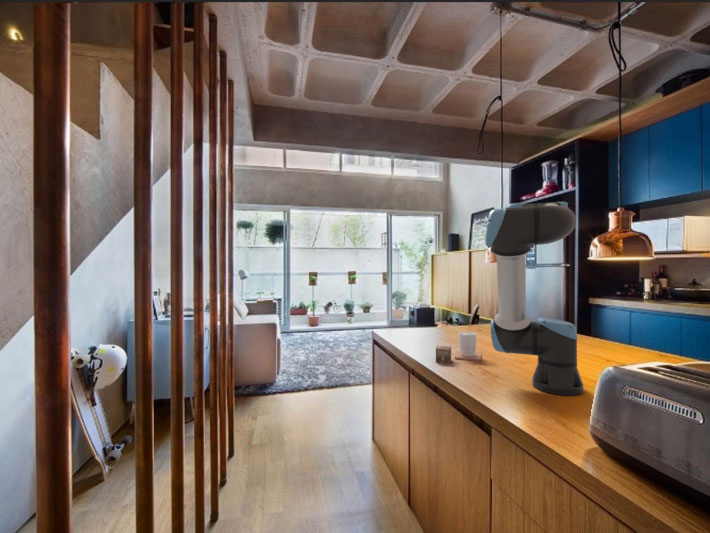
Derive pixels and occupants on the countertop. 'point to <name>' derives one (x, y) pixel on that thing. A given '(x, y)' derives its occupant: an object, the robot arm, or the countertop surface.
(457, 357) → the coaster
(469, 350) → the white cup
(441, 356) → the letter block
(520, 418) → the countertop surface
